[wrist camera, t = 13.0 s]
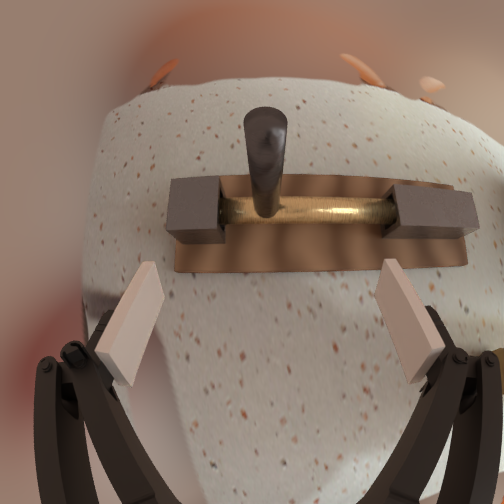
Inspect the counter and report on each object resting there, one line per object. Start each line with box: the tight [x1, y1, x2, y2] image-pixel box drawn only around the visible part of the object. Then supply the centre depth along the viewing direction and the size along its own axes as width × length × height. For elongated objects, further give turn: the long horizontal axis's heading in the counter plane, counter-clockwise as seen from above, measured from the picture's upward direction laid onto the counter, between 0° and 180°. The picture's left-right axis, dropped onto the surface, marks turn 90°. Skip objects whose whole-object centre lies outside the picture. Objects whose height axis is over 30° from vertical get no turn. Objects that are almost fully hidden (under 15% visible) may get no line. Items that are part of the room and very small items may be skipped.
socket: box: [166, 176, 226, 245], centre depth 34 cm, size 6×7×7 cm
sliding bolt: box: [219, 107, 397, 225], centre depth 26 cm, size 27×3×19 cm, turn 90°
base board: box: [174, 174, 468, 273], centre depth 37 cm, size 46×14×2 cm, turn 90°
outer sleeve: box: [380, 184, 479, 239], centre depth 33 cm, size 15×6×6 cm, turn 90°
